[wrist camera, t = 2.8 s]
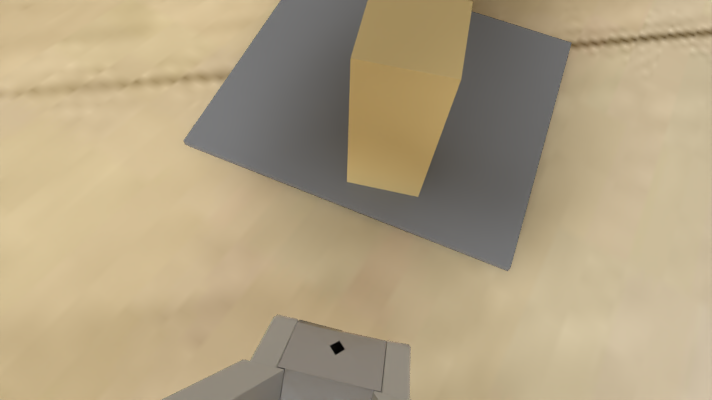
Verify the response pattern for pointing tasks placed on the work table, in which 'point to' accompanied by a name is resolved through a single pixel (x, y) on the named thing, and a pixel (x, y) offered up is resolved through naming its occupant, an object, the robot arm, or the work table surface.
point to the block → (403, 89)
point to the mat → (331, 121)
